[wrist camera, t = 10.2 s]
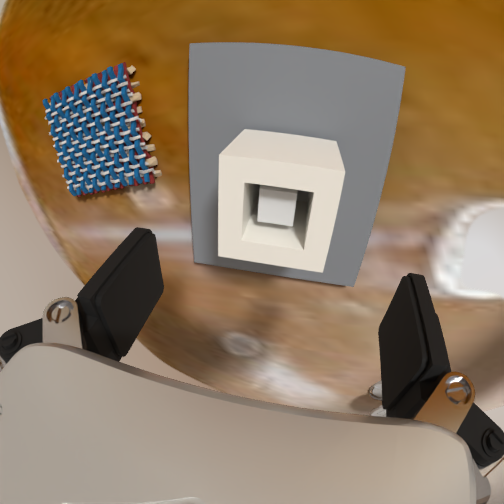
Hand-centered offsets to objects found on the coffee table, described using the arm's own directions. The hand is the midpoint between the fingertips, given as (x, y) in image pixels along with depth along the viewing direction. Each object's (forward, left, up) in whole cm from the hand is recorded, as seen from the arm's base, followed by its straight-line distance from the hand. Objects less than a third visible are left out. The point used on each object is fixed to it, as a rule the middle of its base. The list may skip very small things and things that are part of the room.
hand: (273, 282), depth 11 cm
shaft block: (+1, 0, -13) cm, 13 cm away
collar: (+1, 0, -11) cm, 11 cm away
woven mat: (+17, -2, -14) cm, 21 cm away
